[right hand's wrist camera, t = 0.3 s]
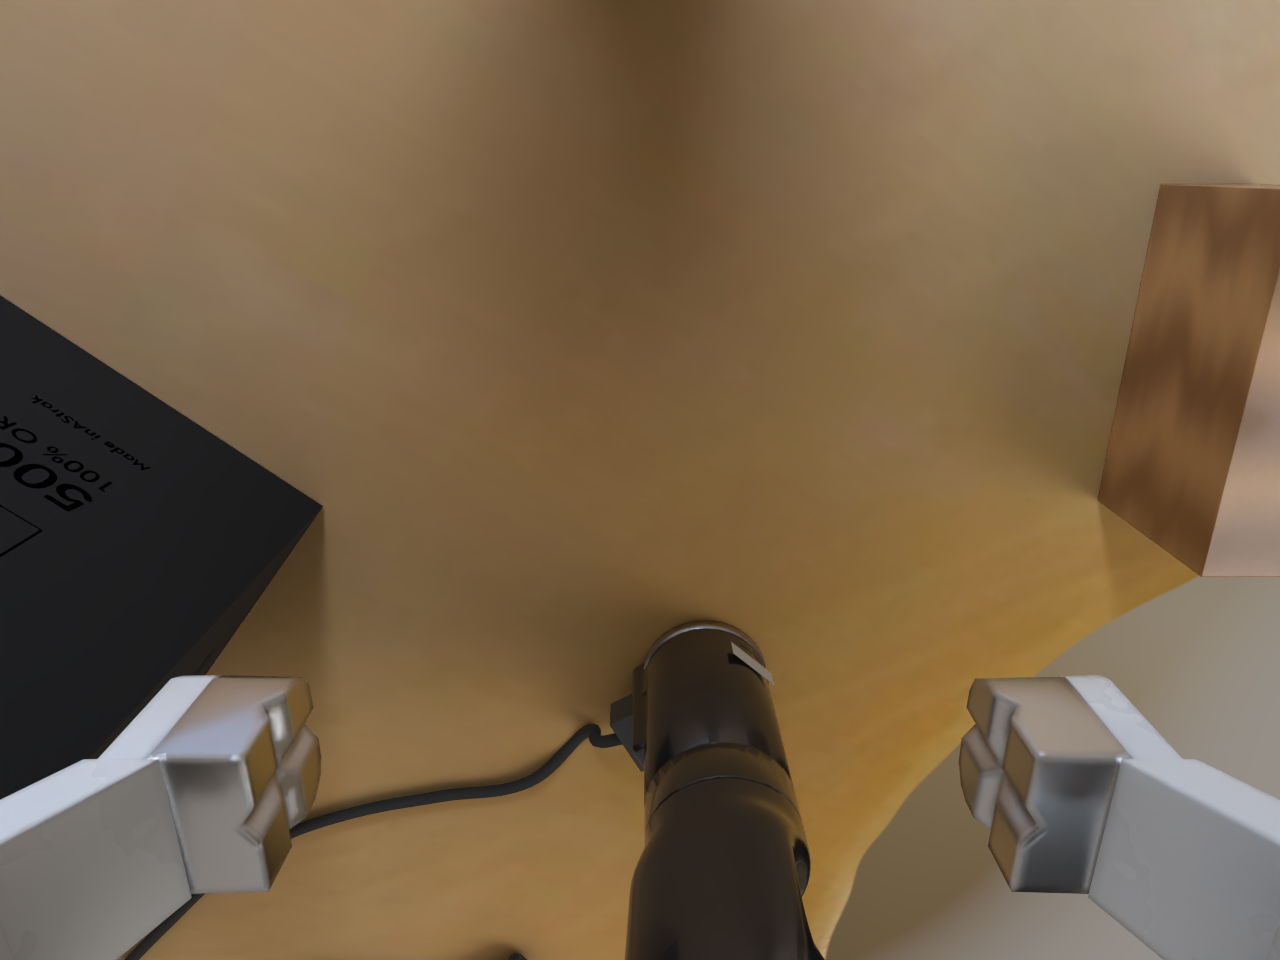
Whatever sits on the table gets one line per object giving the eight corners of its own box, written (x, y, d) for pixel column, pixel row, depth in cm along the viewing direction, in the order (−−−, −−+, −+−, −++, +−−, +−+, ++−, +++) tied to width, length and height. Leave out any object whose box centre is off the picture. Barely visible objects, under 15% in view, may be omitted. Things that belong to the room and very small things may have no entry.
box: (1160, 184, 53) (1299, 189, 42) (1255, 183, 53) (1420, 189, 42) (1097, 500, 60) (1201, 577, 49) (1180, 500, 60) (1303, 577, 49)
